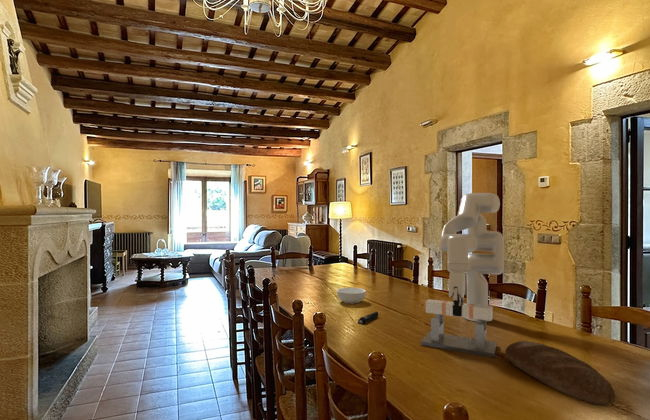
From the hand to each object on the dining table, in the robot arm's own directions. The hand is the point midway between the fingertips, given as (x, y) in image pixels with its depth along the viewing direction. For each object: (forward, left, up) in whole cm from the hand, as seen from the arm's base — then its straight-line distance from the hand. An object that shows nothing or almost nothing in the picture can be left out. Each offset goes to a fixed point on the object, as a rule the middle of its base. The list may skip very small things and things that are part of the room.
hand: (458, 313), depth 142 cm
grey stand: (0, 0, -12) cm, 12 cm away
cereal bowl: (-43, -66, -13) cm, 80 cm away
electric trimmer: (-14, -44, -13) cm, 48 cm away
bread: (+14, +30, -13) cm, 36 cm away
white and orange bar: (0, 0, -1) cm, 1 cm away
